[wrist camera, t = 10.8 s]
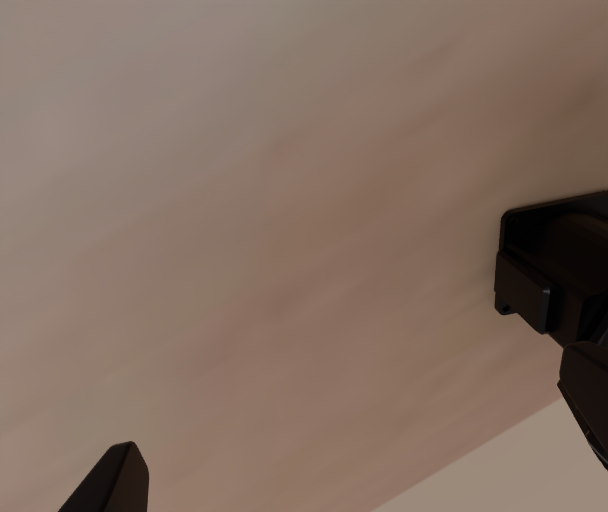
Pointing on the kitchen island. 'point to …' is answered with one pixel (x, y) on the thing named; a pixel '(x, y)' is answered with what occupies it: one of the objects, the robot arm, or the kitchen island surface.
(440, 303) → the kitchen island surface
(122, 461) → the robot arm
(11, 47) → the kitchen island surface
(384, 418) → the kitchen island surface
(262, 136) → the kitchen island surface
